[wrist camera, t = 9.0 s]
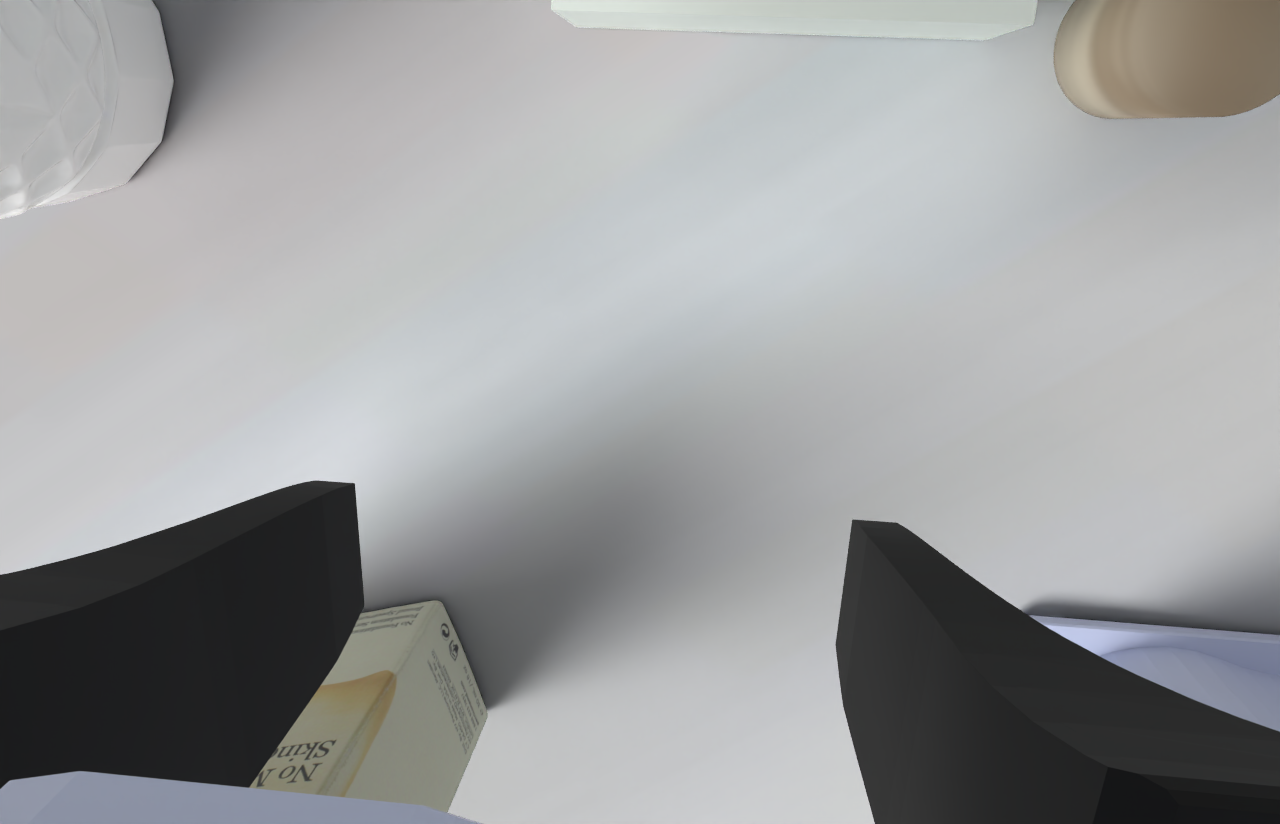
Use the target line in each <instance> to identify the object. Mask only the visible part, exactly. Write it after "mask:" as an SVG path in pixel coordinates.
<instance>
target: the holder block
mask: <svg viewBox="0 0 1280 824" xmlns="http://www.w3.org/2000/svg"><path fill="white" fill-rule="evenodd" d="M1037 3H1038V0H552V6H551V10H552V11H554V12H555V13H556V14H558V15H559V16H561V17H562V18H564V19H565V20H566V21H568V22H569V23H571V24H572V25H574V26H575V27H576V28H608V29H639V30H670V31H701V32H732V33H763V34H794V35H825V36H856V37H888V38H919V39H950V40H981V41H985V40H988V39H991V38H994V37H998V36H1001V35H1004V34H1007V33H1010V32H1013V31H1016V30H1019V29H1022V28H1025V27H1029V26H1032V25H1034V20H1035V15H1036V9H1037Z"/></svg>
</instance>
